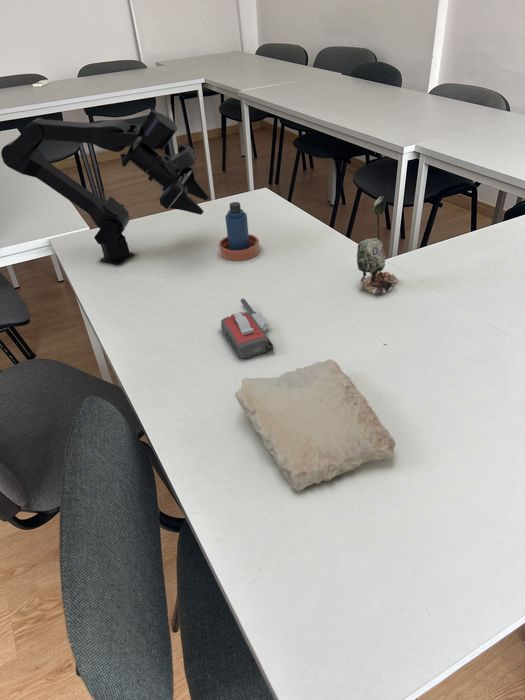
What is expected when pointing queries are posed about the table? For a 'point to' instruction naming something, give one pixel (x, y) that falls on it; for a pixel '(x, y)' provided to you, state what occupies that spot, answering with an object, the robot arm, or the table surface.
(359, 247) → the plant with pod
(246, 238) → the blue bottle
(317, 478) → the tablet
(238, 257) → the dish
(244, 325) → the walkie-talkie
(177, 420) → the table surface
